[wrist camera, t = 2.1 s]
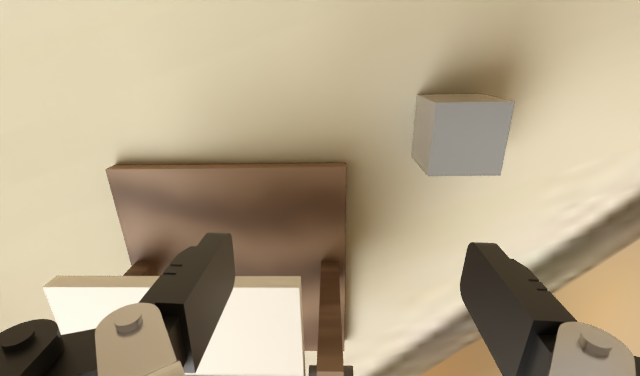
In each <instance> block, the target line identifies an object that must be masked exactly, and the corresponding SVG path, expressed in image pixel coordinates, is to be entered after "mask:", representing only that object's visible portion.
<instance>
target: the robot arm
mask: <svg viewBox="0 0 640 376" xmlns="http://www.w3.org/2000/svg"><path fill="white" fill-rule="evenodd" d="M234 282H235V264H234V253H233V242H232V236H231V234H230V233H215V232H208V233H206V234H205V236H204V237H203V238H202V240H201V241H200V242H199V244H198V245H197V246H190V247H188V248H187V249H185V250H184V251H182V252H180V253H179V254H177V256H176V257H175V258H174V259H173V261H172V262H171V263H170V265H169V266H168V267H167V268H166V269H165V270H164V272H163V275H160V277H159V278H158V279H157V280H156V281H155V283H154V284H153V285H152V286H151V288H150V289H149V290H148V291H147V293H146V294H145V295H144V296H143V297H142V299H141V300H140V301H139V302H138V303H135V304H130V305H126V306H124V307H121V308H119V309H117V310H115V311H113V312H111V313H110V314H109V315H107V316H106V317H105V318H104V319H103V320H102V321H101V322H100V323H99V324H98V326H97V328H95V329H90V330H85V331H80V332H74V333H69V334H64V335H61V334H60V331H59V328H58V325H57V324H56V323H55V322H54V321H52V320H48V319H38V320H32V321H28V322H24V323H21V324H18V325H16V326H13V327H11V328H9V329H7V330H5V331H3V332H1V333H0V376H185V373H196V371H197V369H198V366H199V364H200V362H201V360H202V357H203V355H204V353H205V351H206V348H207V346H208V344H209V342H210V339H211V337H212V335H213V333H214V331H215V328H216V326H217V324H218V322H219V319H220V317H221V315H222V313H223V310H224V308H225V306H226V304H227V301H228V299H229V297H230V295H231V292H232V290H233V287H234ZM460 291H461V296H462V300H463V302H464V304H465V306H466V307H467V309H468V311H469V313H470V315H471V317H472V319H473V321H474V323H475V324H476V326H477V328H478V330H479V332H480V334H481V336H482V338H483V339H484V341H485V343H486V345H487V347H488V349H489V351H490V353H491V355H492V356H493V358H494V360H495V362H496V364H497V366H498V368H499V370H500V371H501V373H502V375H503V376H640V357H636V356H633V354H632V353H631V351H630V350H629V348H627V346H626V345H625V344H624V343H622V342H621V341H620V340H618V339H617V338H616V337H614V336H613V335H611V334H610V333H608V332H606V331H604V330H602V329H600V328H597V327H595V326H592V325H589V324H585V323H581V322H577V320H575V318H574V317H573V316H572V315H571V314H570V313H569V312H568V311H567V310H566V309H565V308H564V306H562V304H561V303H560V302H559V301H558V300H557V299H556V298H555V297H554V296H553V295H552V293H551V292H550V291H547V288H546V287H545V286H544V285H543V284H542V283H541V282H539V279H538V278H537V277H536V276H535V275H534V274H533V273H532V272H531V271H530V270H529V269H528V268H527V267H525V266H523V265H522V264H520V263H519V262H517V261H516V260H514V259H509V257H508V256H507V255H506V254H505V253H504V252H503V251H502V249H501V248H500V247H499V246H498V245H497V244H495V243H475V242H472V243H470V244H469V245H468V248H467V252H466V257H465V262H464V267H463V272H462V276H461V282H460Z"/></svg>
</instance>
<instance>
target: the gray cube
mask: <svg viewBox="0 0 640 376" xmlns="http://www.w3.org/2000/svg"><path fill="white" fill-rule="evenodd" d="M514 103H515V101H511V100H506V99H502V98H498V97H494V96H490V95H485V94H428V95H417V98H416V110H415V121H414V133H413V144H412V158H413V159H414V160H415V161H416V163H417V164H418V165H419V166H420V167H421V169H422V170H423V171H424V172H425V173H426V175H427V176H494V175H501V170H502V165H503V160H504V155H505V149H506V144H507V139H508V134H509V129H510V124H511V119H512V113H513V108H514Z"/></svg>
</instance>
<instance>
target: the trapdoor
mask: <svg viewBox="0 0 640 376" xmlns="http://www.w3.org/2000/svg"><path fill="white" fill-rule="evenodd" d="M159 277H160V276H56V277H55V278H53V279H52V280H51V281H50V282H48V283H47V284H46V285H45V286H43V290H44V292H45V295H46V297H47V300H48V302H49V305H50V307H51V309H52V312H53V314H54V317H55V319H56V322H57V324H58V327H59V329H60V332H61V334H62V335H64V334H69V333H74V332H80V331H85V330H90V329H95V328H97V326H98V324H99V323H100V322H101V321H102V320H103V319H104V318H105V317H106V316H107V315H109V314H110V313H111V312H113V311H115V310H117V309H119V308H121V307H124V306H126V305H130V304H135V303H138V302H139V301H140V300H141V299H142V297H143V296H144V295H145V294H146V293H147V291H148V290H149V289H150V288H151V286H152V285H153V284H154V283H155V281H156V280H157V279H158V278H159ZM185 376H305V355H304V334H303V313H302V293H301V276H235V282H234V287H233V290H232V292H231V295H230V297H229V299H228V301H227V304H226V306H225V308H224V310H223V313H222V315H221V317H220V319H219V322H218V324H217V326H216V328H215V331H214V333H213V335H212V337H211V339H210V342H209V344H208V346H207V348H206V351H205V353H204V355H203V357H202V360H201V362H200V364H199V366H198V369H197V371H196V373H185Z"/></svg>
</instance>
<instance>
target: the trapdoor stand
mask: <svg viewBox="0 0 640 376" xmlns="http://www.w3.org/2000/svg"><path fill="white" fill-rule="evenodd" d="M106 173H107V177H108V181H109V184H110V188H111V192H112V195H113V199H114V203H115V206H116V210H117V214H118V217H119V221H120V225H121V229H122V232H123V236H124V240H125V243H126V247H127V251H128V254H129V258H130V262H131V265H132V267H131V268H130V269H129V270H128V271H127V272H126V273H125V274H124V275H123V276H160V275H163V272H164V270H165V269H166V268H167V267H168V266H169V265H170V263H171V262H172V261H173V259H174V258H175V257H176V256H177V254H179V253H180V252H182V251H184V250H185V249H187V248H188V247H190V246H197V245H198V244H199V242H200V241H201V240H202V238H203V237H204V236H205V234H206V233H208V232H215V233H230V234H231V236H232V242H233V253H234V264H235V276H301V293H302V313H303V334H304V351H317V365H309V376H353V366H343V351H344V320H345V234H346V163H285V164H181V165H114V166H112V167H110V168H108V169H106Z"/></svg>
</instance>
